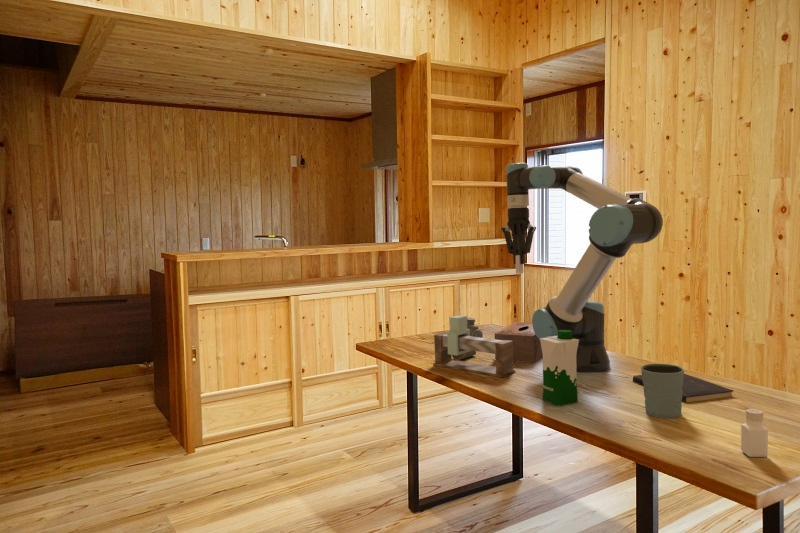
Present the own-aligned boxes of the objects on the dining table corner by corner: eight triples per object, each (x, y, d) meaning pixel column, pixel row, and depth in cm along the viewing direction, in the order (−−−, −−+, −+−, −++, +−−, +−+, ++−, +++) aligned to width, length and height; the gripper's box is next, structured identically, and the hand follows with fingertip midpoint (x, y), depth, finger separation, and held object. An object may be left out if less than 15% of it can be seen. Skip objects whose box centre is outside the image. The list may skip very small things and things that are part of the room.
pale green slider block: (470, 351, 211) (469, 315, 210) (456, 355, 205) (455, 318, 204) (461, 349, 213) (460, 314, 212) (447, 354, 207) (446, 317, 206)
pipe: (462, 338, 236) (440, 336, 232) (482, 346, 220) (458, 344, 217) (461, 354, 236) (438, 352, 233) (480, 362, 220) (456, 361, 217)
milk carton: (583, 402, 164) (582, 332, 163) (556, 407, 161) (555, 335, 159) (562, 394, 172) (561, 327, 171) (537, 399, 169) (535, 330, 167)
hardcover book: (676, 377, 187) (676, 370, 187) (733, 398, 165) (733, 390, 165) (632, 382, 183) (632, 375, 183) (685, 404, 161) (685, 396, 161)
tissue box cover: (533, 363, 211) (533, 336, 210) (495, 360, 218) (494, 333, 217) (551, 348, 234) (550, 323, 233) (515, 346, 241) (515, 322, 240)
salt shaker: (739, 450, 128) (740, 408, 127) (759, 450, 127) (759, 408, 127) (748, 458, 124) (749, 414, 123) (768, 458, 123) (769, 414, 123)
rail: (514, 372, 199) (514, 339, 198) (502, 377, 193) (501, 343, 192) (446, 361, 218) (445, 331, 217) (433, 365, 212) (432, 334, 211)
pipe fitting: (452, 338, 256) (455, 316, 254) (467, 338, 260) (469, 315, 258) (469, 346, 246) (472, 322, 244) (484, 345, 250) (487, 322, 248)
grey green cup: (692, 416, 150) (692, 370, 149) (660, 421, 147) (659, 374, 146) (664, 405, 160) (664, 361, 159) (633, 409, 157) (632, 365, 156)
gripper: (496, 208, 210) (498, 273, 212) (529, 206, 201) (530, 274, 203) (507, 208, 216) (509, 271, 217) (539, 206, 207) (541, 272, 209)
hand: (519, 273), depth 210 cm, fingers closed
